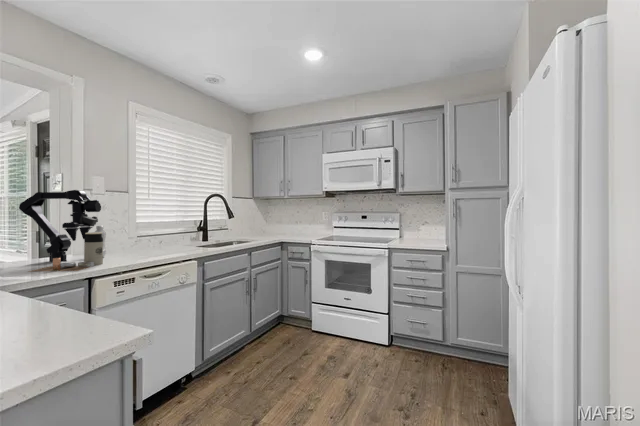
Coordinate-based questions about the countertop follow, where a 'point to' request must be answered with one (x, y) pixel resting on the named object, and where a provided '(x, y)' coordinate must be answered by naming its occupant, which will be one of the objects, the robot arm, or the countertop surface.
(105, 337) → the countertop surface
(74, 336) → the countertop surface
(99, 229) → the plastic bottle
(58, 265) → the grey ball copper handle
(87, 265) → the stand
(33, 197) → the robot arm
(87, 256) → the travel mug
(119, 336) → the countertop surface
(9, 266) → the countertop surface
